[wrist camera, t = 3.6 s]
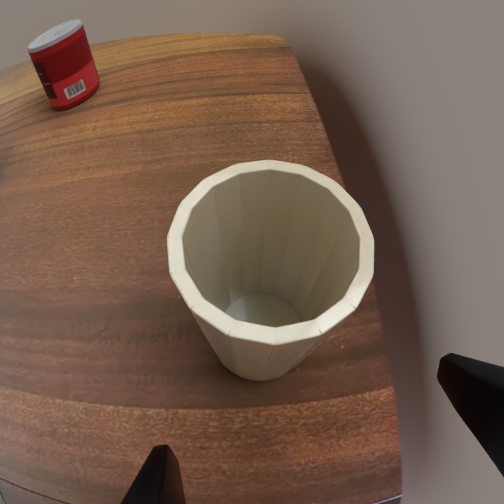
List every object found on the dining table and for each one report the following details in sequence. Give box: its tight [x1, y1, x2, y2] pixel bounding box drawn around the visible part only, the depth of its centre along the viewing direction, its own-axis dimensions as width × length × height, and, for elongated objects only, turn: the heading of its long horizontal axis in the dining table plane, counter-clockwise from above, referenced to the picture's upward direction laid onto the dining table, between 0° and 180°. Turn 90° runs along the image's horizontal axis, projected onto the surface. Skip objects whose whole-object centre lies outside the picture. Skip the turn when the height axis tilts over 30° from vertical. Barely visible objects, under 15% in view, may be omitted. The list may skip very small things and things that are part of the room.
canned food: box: [28, 20, 99, 110], centre depth 31 cm, size 8×8×11 cm
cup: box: [167, 160, 374, 381], centre depth 15 cm, size 6×6×13 cm
